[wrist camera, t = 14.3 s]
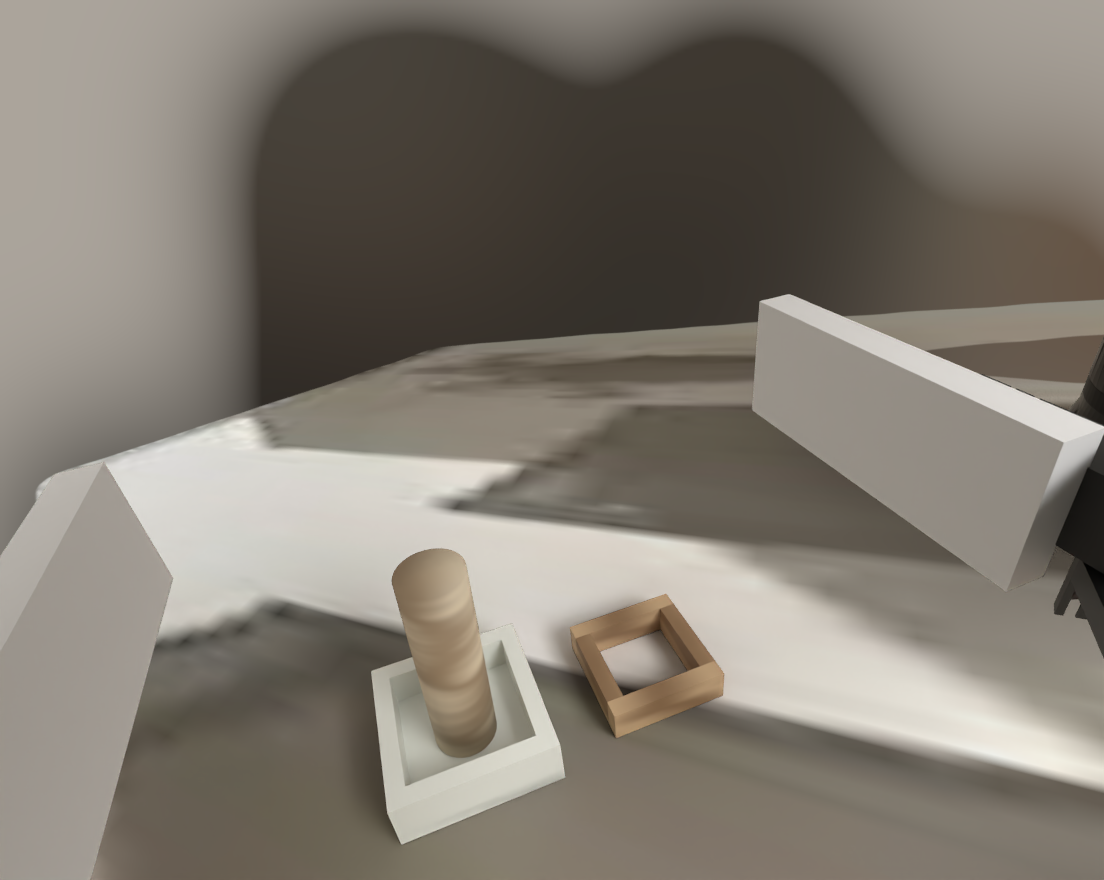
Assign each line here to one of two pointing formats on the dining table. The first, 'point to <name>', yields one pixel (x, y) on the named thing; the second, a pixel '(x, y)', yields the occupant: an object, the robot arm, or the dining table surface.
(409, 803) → the tray
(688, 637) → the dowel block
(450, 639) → the dowel
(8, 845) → the robot arm
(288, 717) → the dining table surface
